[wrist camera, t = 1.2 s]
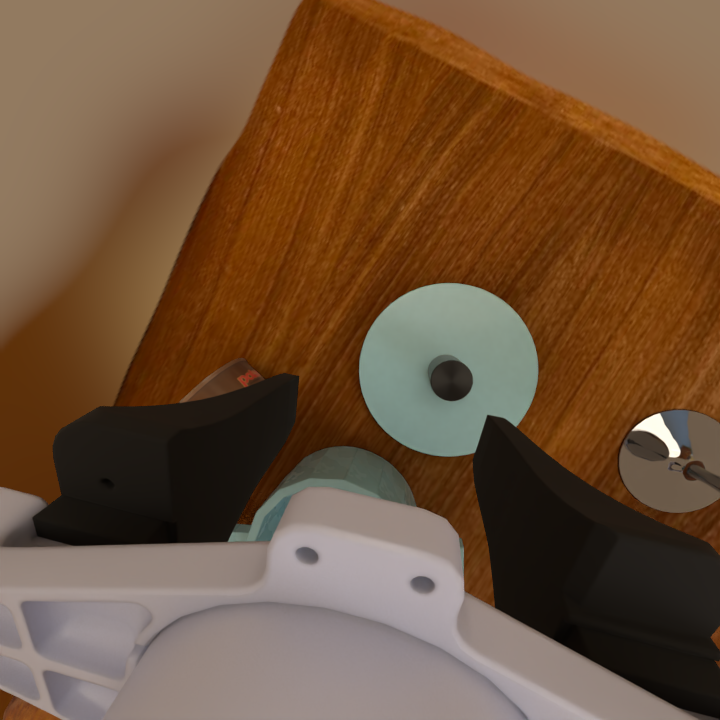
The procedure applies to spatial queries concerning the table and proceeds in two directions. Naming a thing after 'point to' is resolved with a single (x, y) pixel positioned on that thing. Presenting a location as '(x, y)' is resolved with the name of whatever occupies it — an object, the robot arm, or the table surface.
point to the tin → (225, 380)
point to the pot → (330, 470)
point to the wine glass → (672, 461)
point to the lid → (447, 367)
